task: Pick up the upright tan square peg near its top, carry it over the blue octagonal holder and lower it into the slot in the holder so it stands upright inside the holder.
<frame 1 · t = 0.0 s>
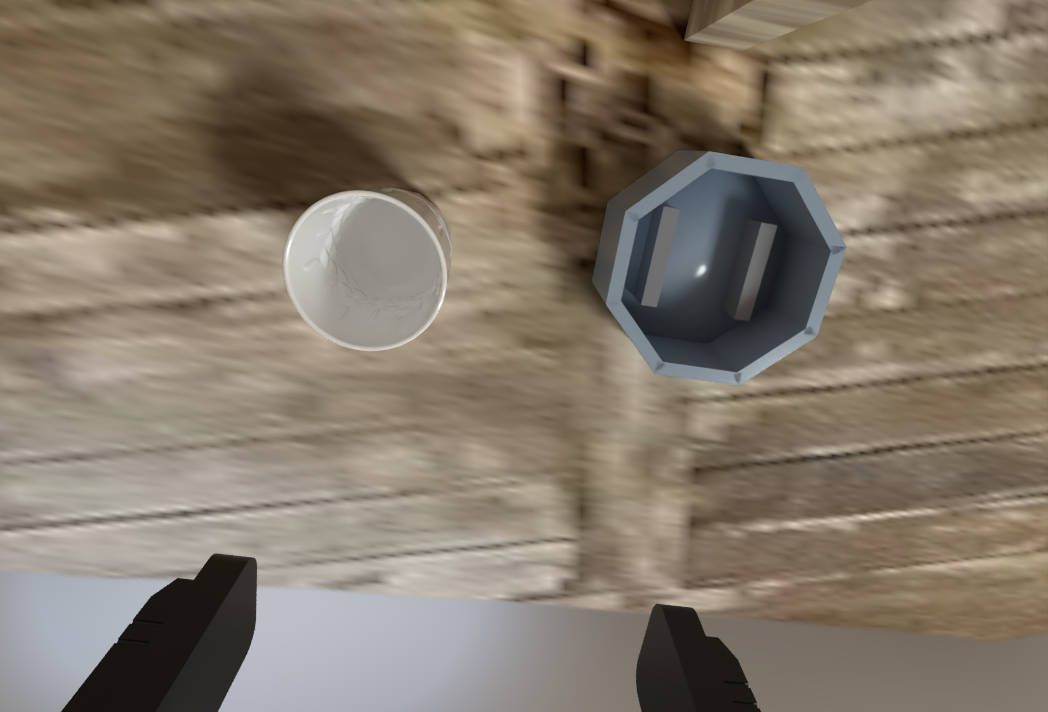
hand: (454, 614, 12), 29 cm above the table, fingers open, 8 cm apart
white cup: (399, 241, 39), on the table
tan square peg: (720, 12, 35), on the table
blue octagonal holder: (693, 257, 39), on the table
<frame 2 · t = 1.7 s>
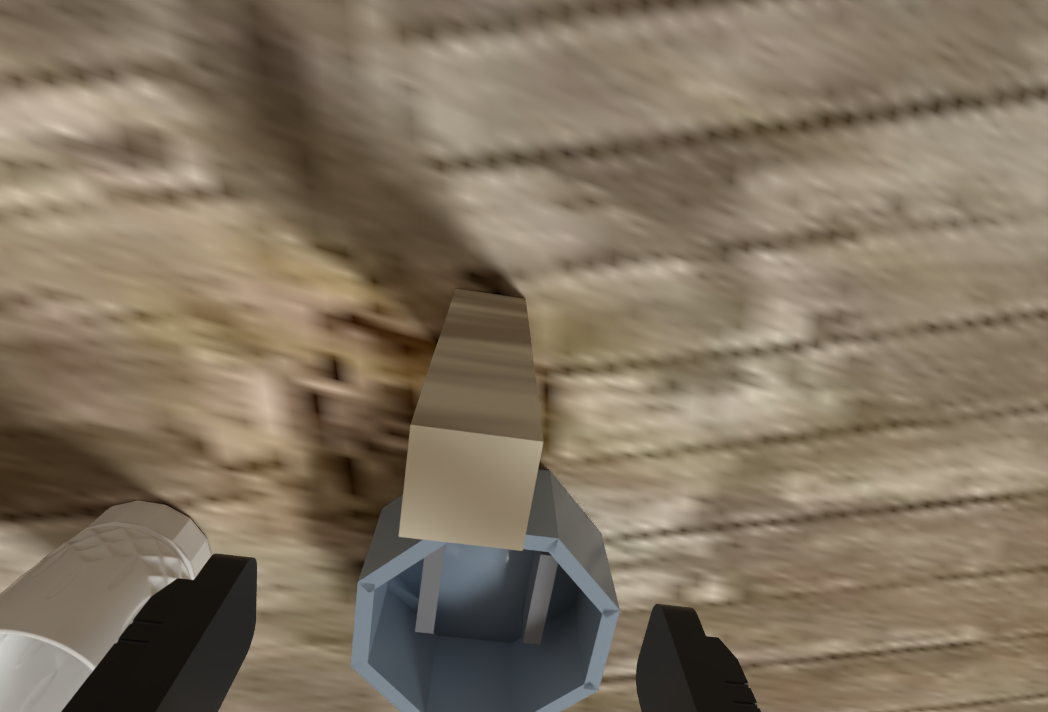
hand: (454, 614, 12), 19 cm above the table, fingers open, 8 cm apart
white cup: (154, 547, 35), on the table
tan square peg: (485, 327, 30), on the table
blue octagonal holder: (487, 558, 35), on the table
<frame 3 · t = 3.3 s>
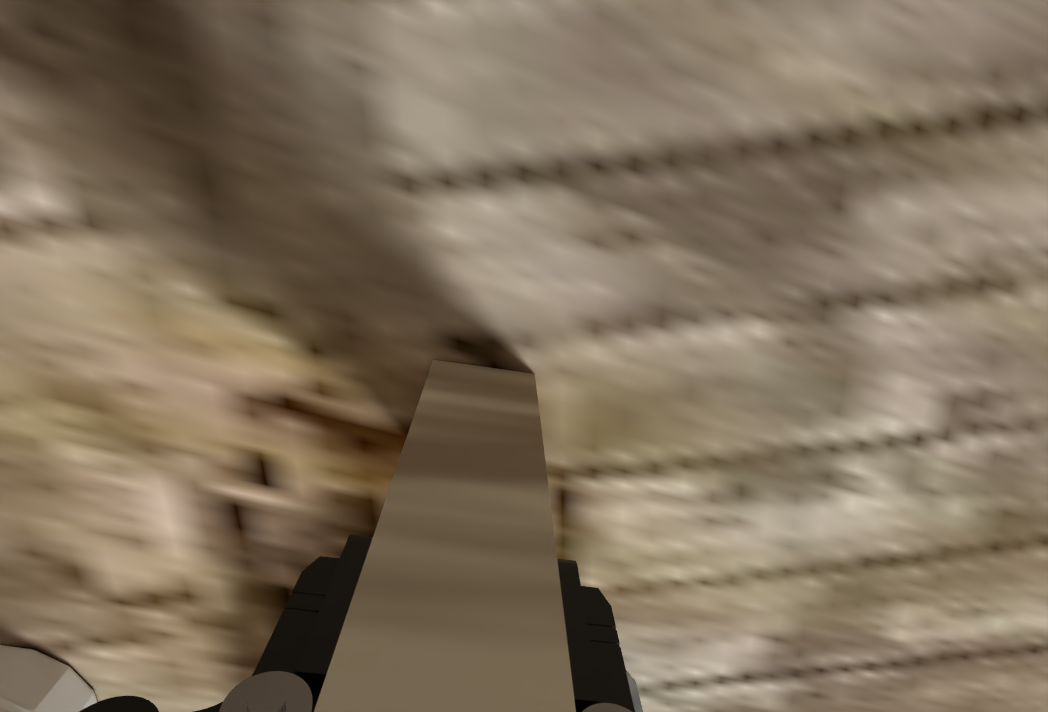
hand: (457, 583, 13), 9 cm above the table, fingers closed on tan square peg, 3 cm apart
white cup: (24, 701, 25), on the table
tan square peg: (477, 412, 21), on the table, touching gripper
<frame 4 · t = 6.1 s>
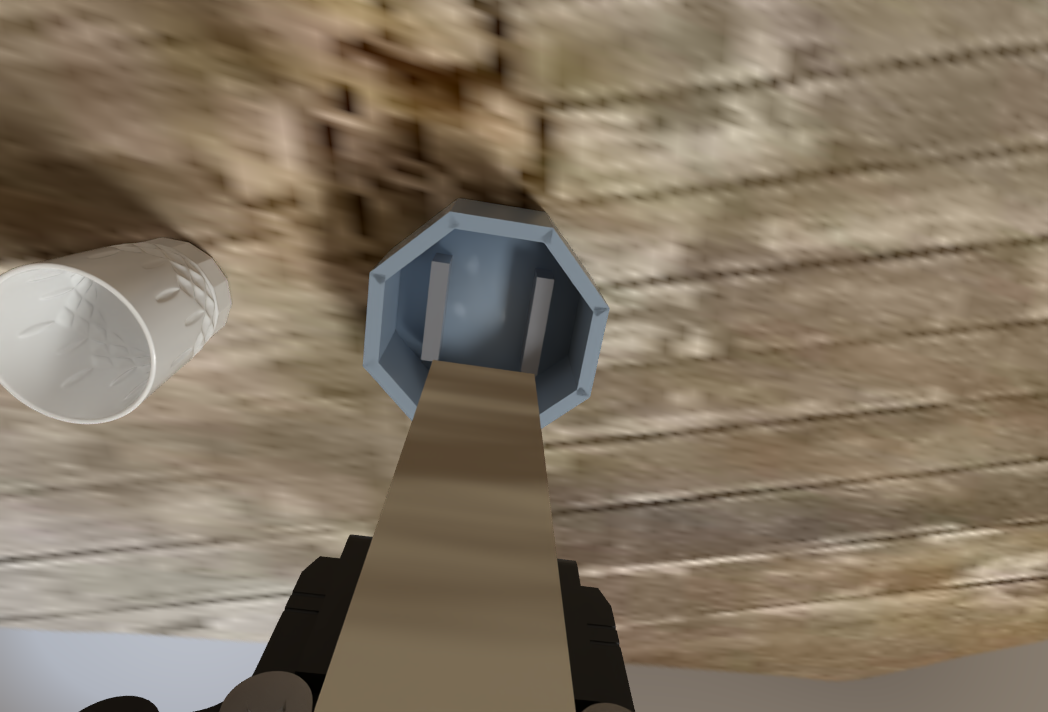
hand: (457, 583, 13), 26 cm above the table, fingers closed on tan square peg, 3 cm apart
white cup: (178, 291, 37), on the table
tan square peg: (477, 413, 21), point 17 cm above the table, touching gripper
blue octagonal holder: (487, 306, 38), on the table
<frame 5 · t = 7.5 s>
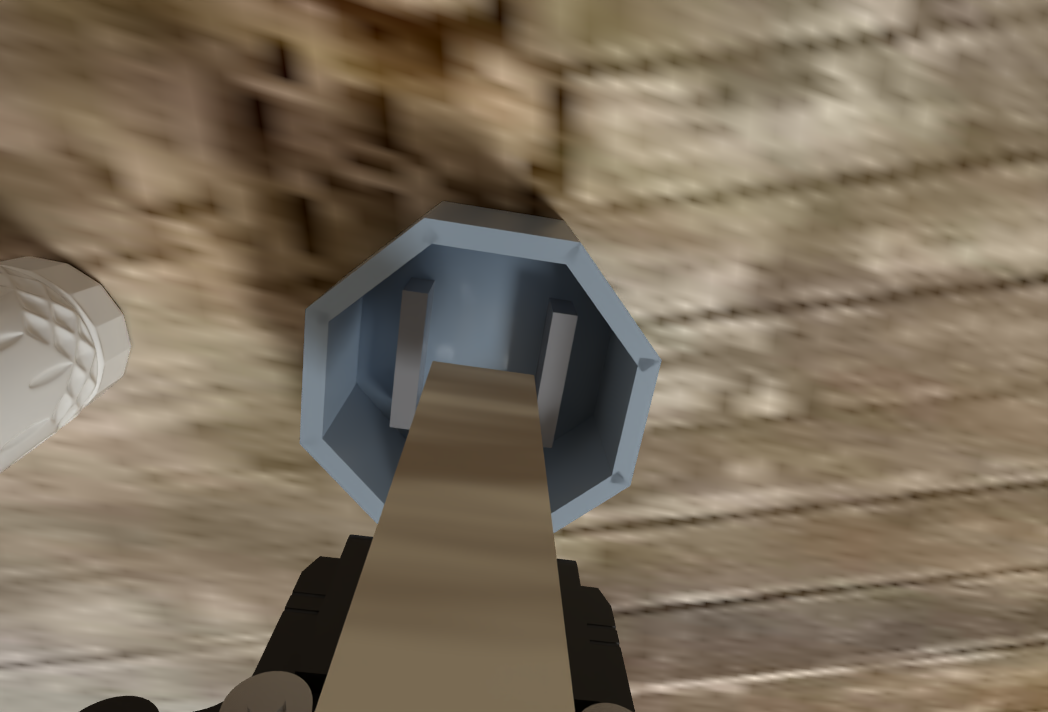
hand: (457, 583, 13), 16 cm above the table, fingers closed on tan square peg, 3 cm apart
white cup: (57, 329, 27), on the table
tan square peg: (476, 414, 21), point 7 cm above the table, touching gripper
blue octagonal holder: (483, 349, 28), on the table
when the fingers open (10 cm above the table, at t = 8.9 s): tan square peg stays where it is, resting on blue octagonal holder.
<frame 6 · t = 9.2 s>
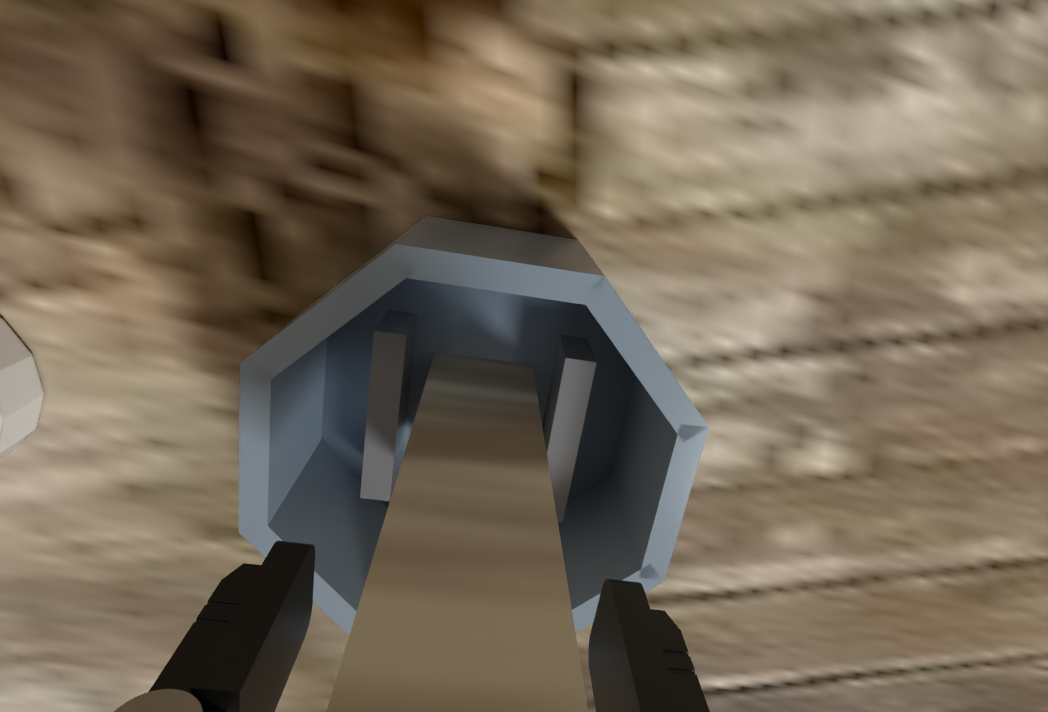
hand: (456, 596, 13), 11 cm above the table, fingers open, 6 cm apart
tan square peg: (477, 403, 22), point 1 cm above the table, touching blue octagonal holder
blue octagonal holder: (478, 396, 23), on the table
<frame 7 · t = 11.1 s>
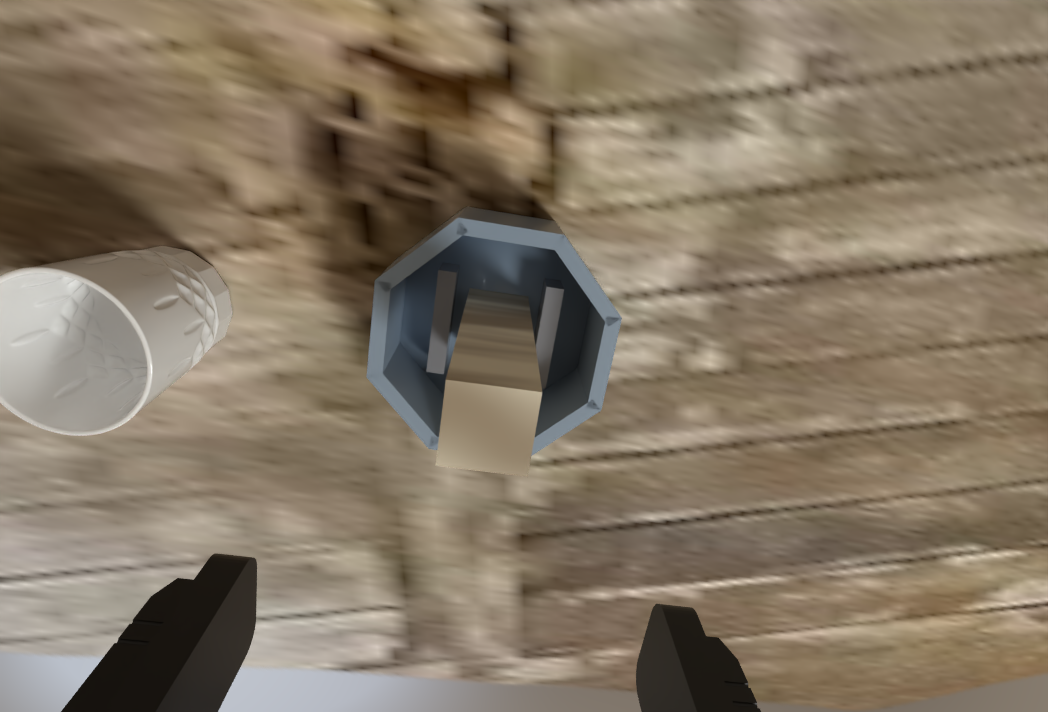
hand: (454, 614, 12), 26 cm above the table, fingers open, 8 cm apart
white cup: (177, 301, 36), on the table
tan square peg: (495, 320, 36), point 1 cm above the table, touching blue octagonal holder
blue octagonal holder: (494, 317, 37), on the table
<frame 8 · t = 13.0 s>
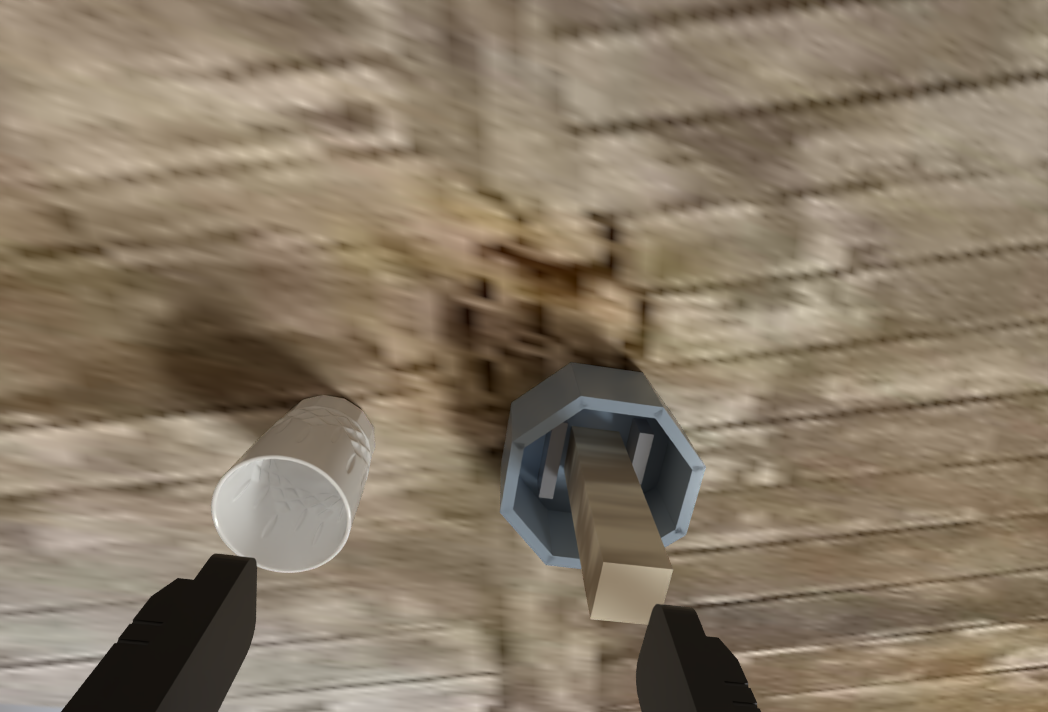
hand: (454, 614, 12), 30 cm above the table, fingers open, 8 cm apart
white cup: (330, 435, 44), on the table
tan square peg: (591, 450, 44), point 1 cm above the table, touching blue octagonal holder
blue octagonal holder: (589, 446, 45), on the table
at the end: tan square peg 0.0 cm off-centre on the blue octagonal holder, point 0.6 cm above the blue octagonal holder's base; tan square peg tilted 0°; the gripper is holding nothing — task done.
